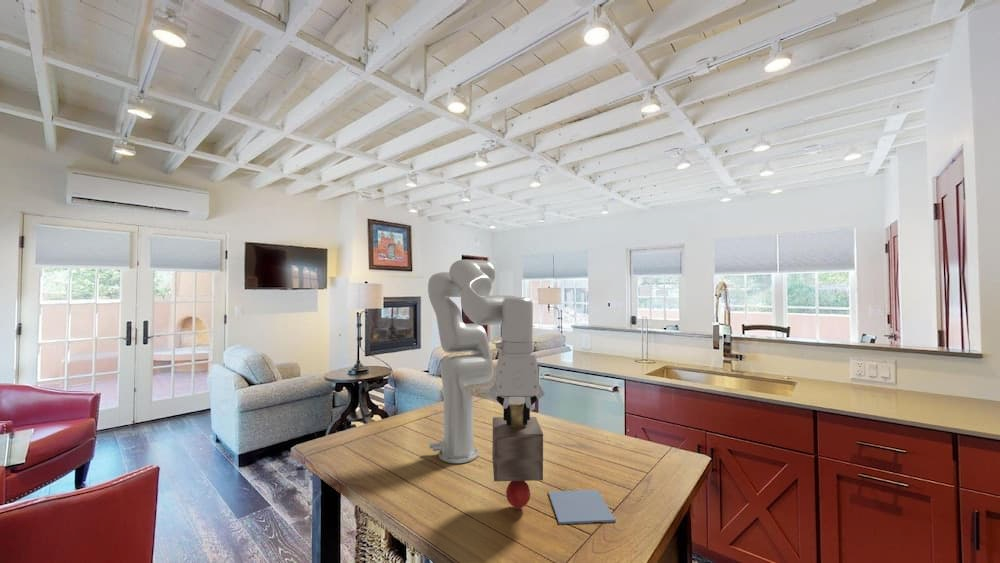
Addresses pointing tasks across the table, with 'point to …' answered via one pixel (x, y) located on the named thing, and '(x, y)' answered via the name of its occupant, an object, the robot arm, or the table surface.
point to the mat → (580, 507)
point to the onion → (518, 494)
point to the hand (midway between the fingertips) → (516, 422)
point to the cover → (517, 447)
